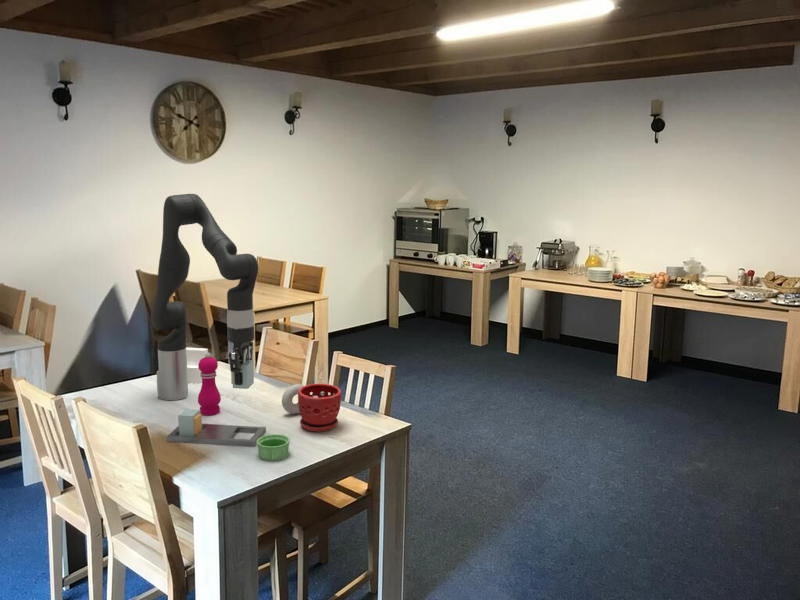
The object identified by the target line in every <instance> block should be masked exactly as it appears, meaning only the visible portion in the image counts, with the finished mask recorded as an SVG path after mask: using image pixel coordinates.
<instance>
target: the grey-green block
mask: <svg viewBox="0 0 800 600" xmlns="http://www.w3.org/2000/svg"><path fill="white" fill-rule="evenodd" d="M239 361H242V360H239ZM236 368H237V365H236ZM230 374H231V375H230V378H231V379H230V381H231V385H232V389H240V390H241V389H244V390H248V389H249V388H250V387H252V385H254V384H255V379H254V377H255V376H254V375H255V374H254V359H252V360H245V364H244V365H243V371H242V374H243V384H242V385H235V382H234V372H231V371H230Z"/></svg>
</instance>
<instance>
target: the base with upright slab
mask: <svg viewBox="0 0 800 600" xmlns="http://www.w3.org/2000/svg"><path fill="white" fill-rule="evenodd" d="M206 353H209V349H208V348H203V347H202V348H201V347H200V348H199V347H187V346H186V355H187V377H188V384H190V383H193V385H196V384H195V383H198V384H202V378H201V377H200V376H201V374H200V373H201V371H200V370H199V368H198V364H199V361H200V360H201V359H202V358H205V354H206Z"/></svg>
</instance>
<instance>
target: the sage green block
mask: <svg viewBox="0 0 800 600" xmlns="http://www.w3.org/2000/svg"><path fill="white" fill-rule="evenodd" d="M202 416H203V415H202V414H201V413H200V409H196V408H192V409H191V408H186V409H184V410H183V411H182V412H180V414H178V416H177V417H178V418H177V420H178V426H179V435H180V436H197V435H198V434H199V433H200V432H201V431H202V424H203V422H202V421H203V418H202Z"/></svg>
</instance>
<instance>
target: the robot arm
mask: <svg viewBox="0 0 800 600" xmlns="http://www.w3.org/2000/svg"><path fill="white" fill-rule="evenodd" d="M162 212H163V213H162V216H163V217H162V239H161V240H162V241H161V247H160V248H161V249H160V253H159V254H160V256H159V260H158V261H159V262H158V269H157V281H156V288H155V293H154V297H153V302H152V305H151V310H150V311H151V312H150V321H151V326H152V327H153V328H154V330H157V331H167V330H172V332H170V333H169V334H167V335H166V336H165V337H162V338H160V339H159V340H158V341H157V359H158V370H157V371H156V388H157V390H156V392H157V399H162V400H164V401H177V400H182V399H185V398H187V397H188V396H189V383H188V377H187V355H186V347H187V309H186V305H185V304H184V303H183V302H182V301H180V300H179V301H178V300H177V301H169V300H170V299H171V297H172V296H173V294H175V293H176V292H177V291H178V290H179V289H180V288H181V287H182V285H183V284H184V283H185V281H186V280H187V278H188V275H189V271H190V264H191V258H190V257H191V256H190V254H189V252H188V250H187V249H186V247H185V246H184V244H183V243H182V241H181V239H180V238H179V231H180V227H181V226H188V225H195V224H197V225H199V226H201V228H202V230H201V242H202V245H203V247H204V249H206V251H207V252H208V253H209V254H210V255H211V256H212V258H213V259H214V261H215V263H216V266H217V268H218V271H219V274H220V275H221V277H223V278H224V279H225V280H228V281H237V280H238V281H239V282H238V284H237V285H236V286H233V287H231V288H229V289H228V290H227V292H226V300H227V301H226V304H227V311H226V312H227V313H226V329H227V330H226V333H227V337H226V338H227V339H226V340H227V341H228V342H230V343H232V344H233V346H232V349H231V350H232V351H231V352H230V351H229V352H228V360H229V367H230V368H229V369H230V373H231V372H234V382H235V385H242V384H243V374H242V371H243V365H244V364H245V360H253V358H254V357H253V355H254V354H253V353H254V342H253V341H255V314H254V306H253V305H254V302H253V298H254V297H253V295H254V290H255V286H256V282H257V278H258V275H259V274H258V273H259V264H258V260H257V257H255V255H253V254H252V253H239V254H238V249H237V246H236V243H234V242H233V241H232V239H231V238H230V237H229V236H228V235H227V234H226V233H225V232H224V231H223V230H222V228H221V227H220V226H219V225H218V223H217V221H216V220H215V218H214V216H213V214H212V212H211V211H210V210H209V208H208V207H207V204H206V203H205V202H204V200H203V199H202V198H201V197H200V196H199V195H198V194H196V193H183V194H173V195H169V196H167V197H166V198H165V201H164V205H163V211H162ZM239 360H242V361H239ZM236 365H237V368H236Z"/></svg>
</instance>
